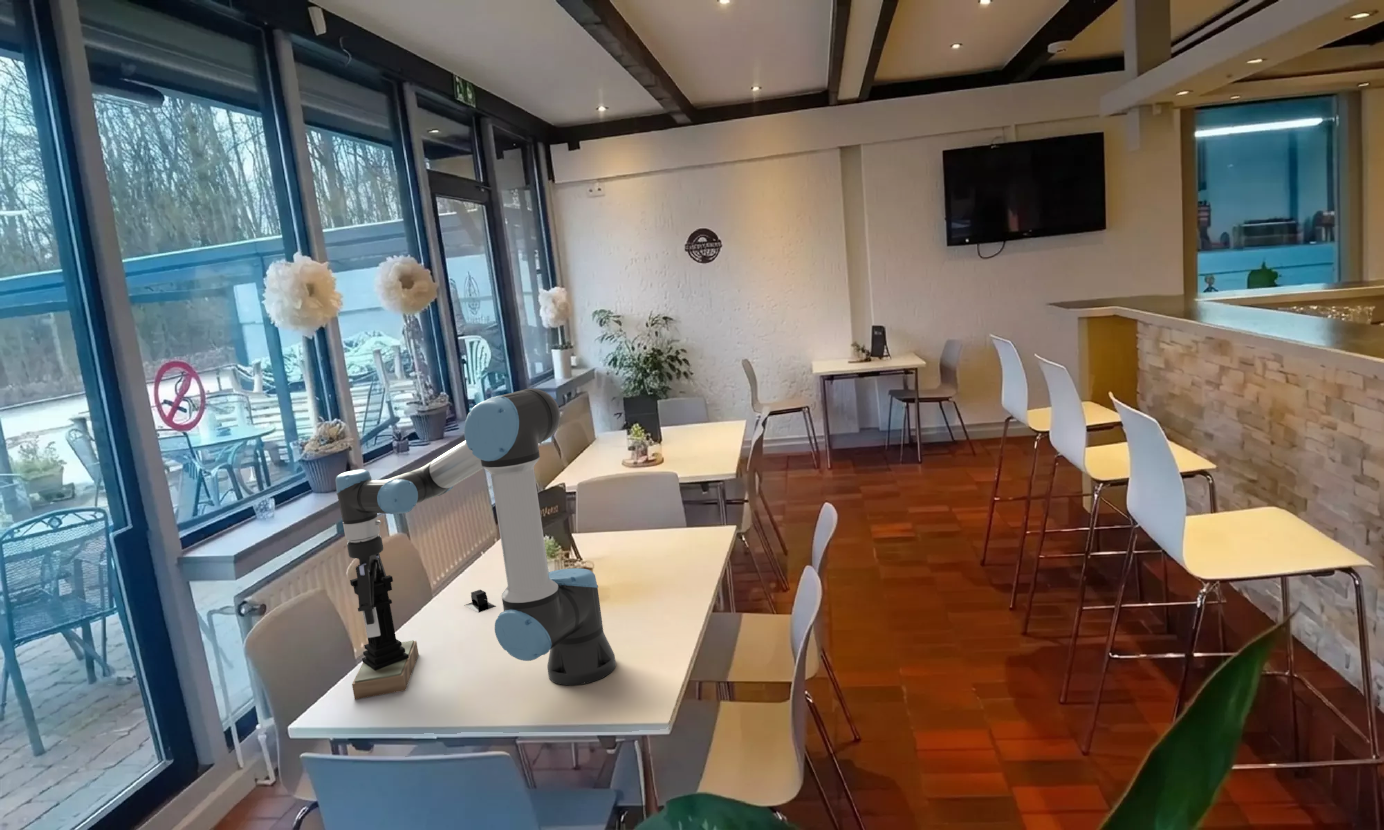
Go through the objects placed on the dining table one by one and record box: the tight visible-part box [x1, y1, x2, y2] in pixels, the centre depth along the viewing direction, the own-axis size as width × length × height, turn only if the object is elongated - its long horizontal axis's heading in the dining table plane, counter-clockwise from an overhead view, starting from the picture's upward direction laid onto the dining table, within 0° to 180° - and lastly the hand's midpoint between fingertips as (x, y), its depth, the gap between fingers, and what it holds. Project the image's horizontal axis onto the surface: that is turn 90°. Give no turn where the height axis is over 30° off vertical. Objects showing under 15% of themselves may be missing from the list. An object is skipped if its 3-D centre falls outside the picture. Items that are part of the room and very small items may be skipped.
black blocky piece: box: [464, 589, 497, 613], centre depth 241 cm, size 12×7×5 cm, turn 39°
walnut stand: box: [351, 639, 419, 700], centre depth 201 cm, size 20×11×4 cm, turn 10°
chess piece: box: [349, 571, 409, 671], centre depth 200 cm, size 8×8×20 cm
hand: (379, 625), depth 200 cm, fingers open, 13 cm apart
